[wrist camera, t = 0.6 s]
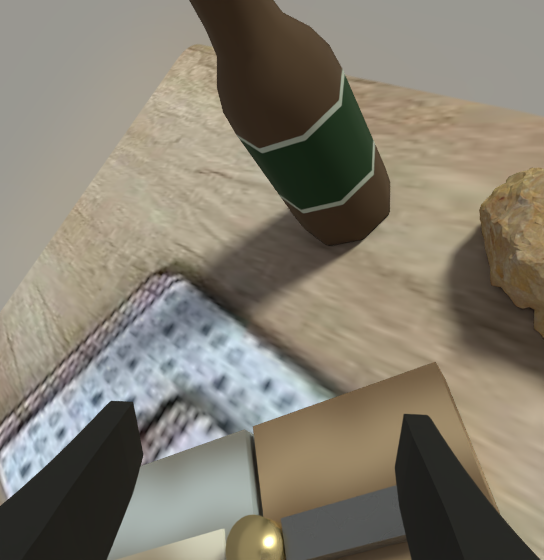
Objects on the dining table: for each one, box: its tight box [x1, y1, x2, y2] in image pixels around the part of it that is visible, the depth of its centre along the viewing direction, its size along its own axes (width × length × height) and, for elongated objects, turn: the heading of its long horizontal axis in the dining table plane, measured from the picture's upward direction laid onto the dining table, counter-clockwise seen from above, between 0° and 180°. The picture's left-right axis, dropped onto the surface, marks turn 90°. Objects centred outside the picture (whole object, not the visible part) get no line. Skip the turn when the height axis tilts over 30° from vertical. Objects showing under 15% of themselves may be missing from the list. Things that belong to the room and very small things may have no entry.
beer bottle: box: [190, 0, 390, 246], centre depth 30 cm, size 8×8×24 cm
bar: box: [225, 485, 407, 560], centre depth 23 cm, size 12×3×3 cm, turn 100°
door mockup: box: [107, 362, 500, 560], centre depth 25 cm, size 14×24×5 cm, turn 100°
